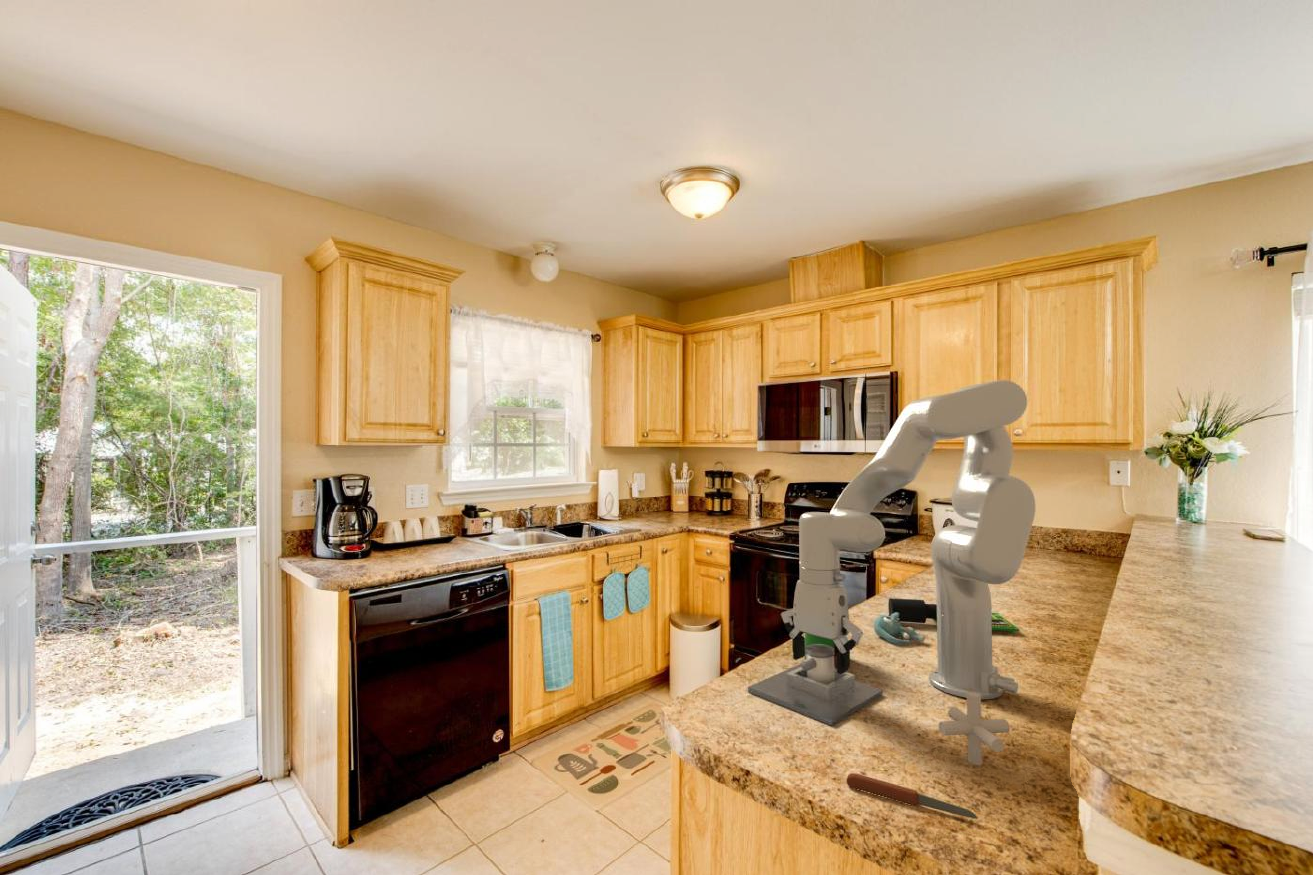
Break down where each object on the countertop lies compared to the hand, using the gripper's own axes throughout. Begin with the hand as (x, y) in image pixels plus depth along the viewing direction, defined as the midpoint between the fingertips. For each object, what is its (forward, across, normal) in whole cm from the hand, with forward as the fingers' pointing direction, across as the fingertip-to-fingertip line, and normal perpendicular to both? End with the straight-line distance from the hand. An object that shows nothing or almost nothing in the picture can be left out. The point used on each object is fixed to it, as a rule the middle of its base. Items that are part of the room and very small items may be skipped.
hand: (820, 664), depth 107 cm
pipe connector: (+5, -29, +5) cm, 30 cm away
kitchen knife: (+6, -27, +22) cm, 35 cm away
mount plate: (+5, 0, +2) cm, 5 cm away
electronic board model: (+5, +1, -64) cm, 64 cm away
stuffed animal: (+5, +3, -41) cm, 42 cm away
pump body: (+4, 0, +1) cm, 4 cm away
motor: (+5, +8, -15) cm, 18 cm away
